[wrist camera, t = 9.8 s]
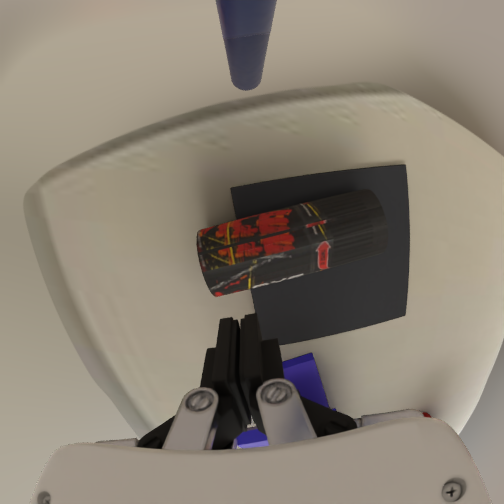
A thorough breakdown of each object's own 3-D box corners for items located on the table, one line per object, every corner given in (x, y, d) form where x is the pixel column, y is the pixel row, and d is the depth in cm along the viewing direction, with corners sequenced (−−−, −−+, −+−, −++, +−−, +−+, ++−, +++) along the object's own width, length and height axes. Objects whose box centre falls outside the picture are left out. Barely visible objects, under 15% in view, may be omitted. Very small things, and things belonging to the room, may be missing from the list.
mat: (230, 187, 25) (230, 188, 25) (403, 164, 24) (405, 164, 24) (262, 346, 31) (262, 348, 30) (404, 314, 30) (405, 315, 30)
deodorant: (205, 226, 26) (354, 189, 25) (222, 284, 27) (366, 247, 26) (191, 234, 20) (380, 187, 19) (213, 307, 21) (392, 260, 21)
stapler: (316, 350, 31) (336, 411, 22) (344, 447, 40) (356, 488, 30) (228, 376, 32) (223, 438, 23) (286, 463, 41) (291, 504, 31)
